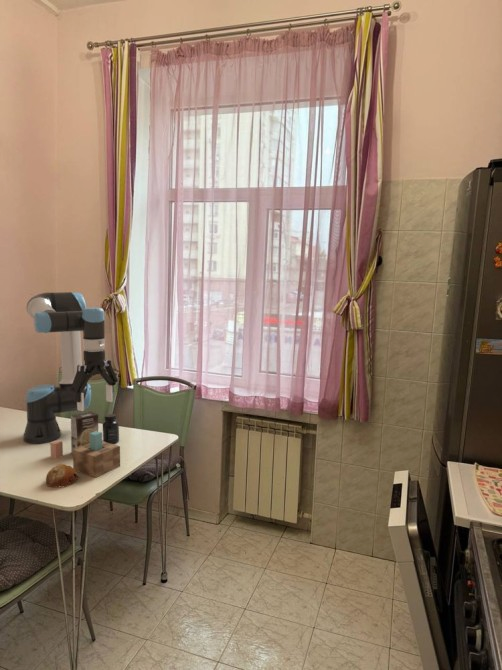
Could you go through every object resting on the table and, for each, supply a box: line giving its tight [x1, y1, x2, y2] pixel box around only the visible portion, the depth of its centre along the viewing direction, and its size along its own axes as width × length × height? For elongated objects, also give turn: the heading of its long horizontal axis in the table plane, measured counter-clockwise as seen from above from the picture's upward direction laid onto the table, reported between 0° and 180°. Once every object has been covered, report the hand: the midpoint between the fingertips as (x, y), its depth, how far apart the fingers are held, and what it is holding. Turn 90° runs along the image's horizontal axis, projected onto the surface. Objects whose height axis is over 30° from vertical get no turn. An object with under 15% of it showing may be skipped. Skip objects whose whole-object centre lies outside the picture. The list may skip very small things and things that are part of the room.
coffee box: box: [70, 410, 99, 454], centre depth 186 cm, size 9×6×16 cm
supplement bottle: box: [102, 413, 120, 445], centre depth 198 cm, size 7×7×12 cm
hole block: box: [72, 440, 121, 479], centre depth 172 cm, size 12×12×8 cm
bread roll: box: [45, 463, 79, 488], centre depth 161 cm, size 10×10×8 cm
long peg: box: [89, 430, 103, 451], centre depth 171 cm, size 3×3×14 cm
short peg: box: [49, 439, 64, 460], centre depth 182 cm, size 3×3×6 cm
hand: (95, 405), depth 169 cm, fingers open, 13 cm apart
